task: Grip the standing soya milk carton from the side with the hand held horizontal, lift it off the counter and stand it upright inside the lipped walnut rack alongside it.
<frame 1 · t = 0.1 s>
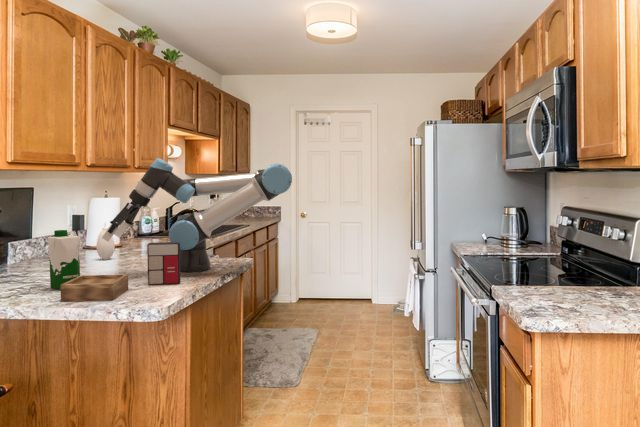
hand: (111, 237, 182), 15 cm above the countertop, tool tilted 35°, fingers open, 13 cm apart
soya milk: (65, 288, 163), on the countertop
stand: (96, 295, 151), on the countertop
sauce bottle: (106, 259, 225), on the countertop
calculator: (164, 284, 169), on the countertop
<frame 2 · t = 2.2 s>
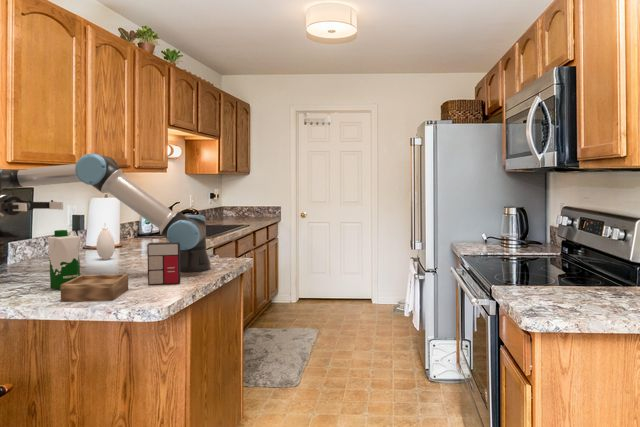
hand: (44, 206, 165), 28 cm above the countertop, tool horizontal, fingers open, 13 cm apart
nothing on the countertop moved.
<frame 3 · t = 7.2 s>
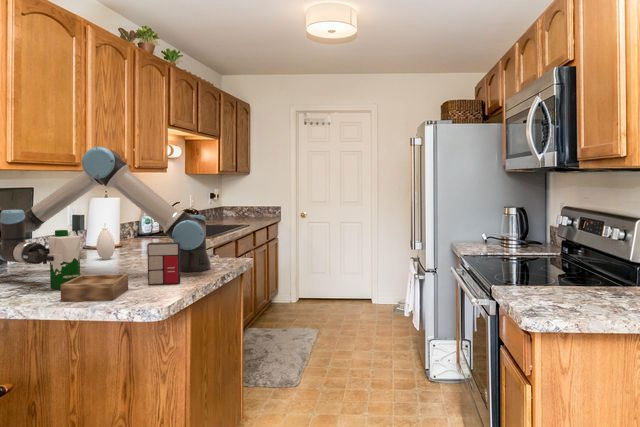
hand: (74, 257, 160), 11 cm above the countertop, tool horizontal, fingers closed on soya milk, 9 cm apart
soya milk: (65, 287, 163), on the countertop, touching gripper
everything else where it was.
when the fingers open (16 cm above the countertop, at t = 12.7 s): soya milk drops 1 cm, resting on stand.
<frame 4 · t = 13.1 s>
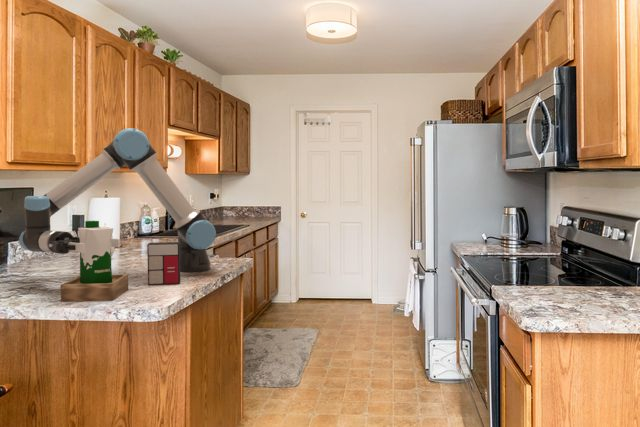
hand: (102, 245, 149), 16 cm above the countertop, tool horizontal, fingers open, 13 cm apart
soya milk: (96, 283, 151), point 4 cm above the countertop, touching stand
everything else where it was.
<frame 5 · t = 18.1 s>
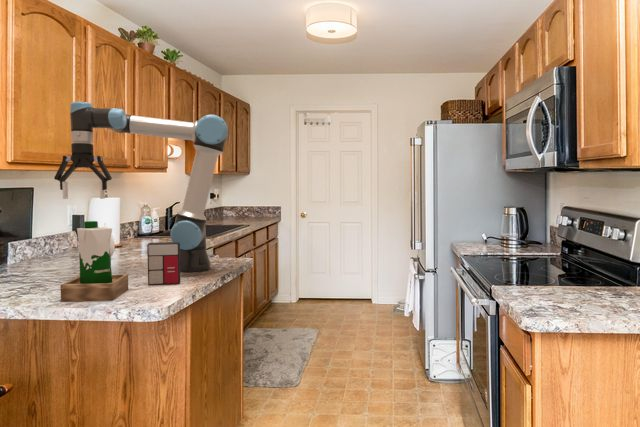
hand: (84, 198, 179), 31 cm above the countertop, tool pointing down, fingers open, 13 cm apart
nothing on the countertop moved.
at the end: soya milk inside the target area on the stand (0.0 cm from its centre), point 3.8 cm above the stand's base; soya milk tilted 0° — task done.
